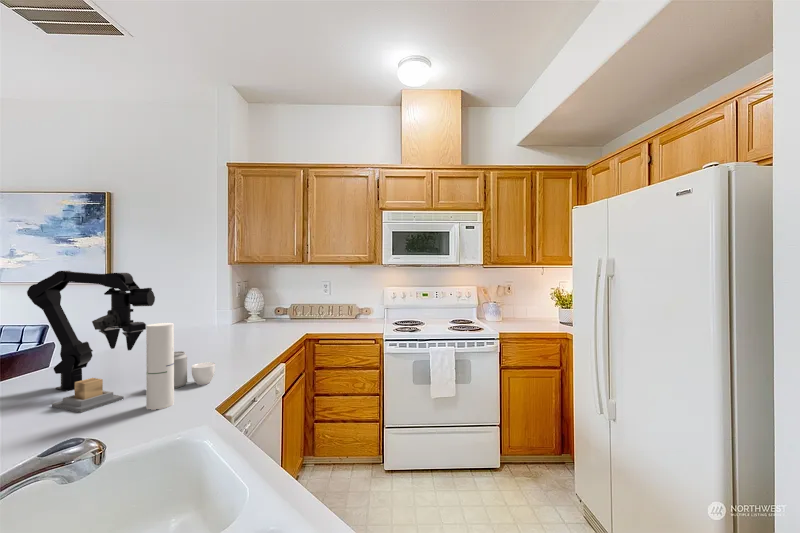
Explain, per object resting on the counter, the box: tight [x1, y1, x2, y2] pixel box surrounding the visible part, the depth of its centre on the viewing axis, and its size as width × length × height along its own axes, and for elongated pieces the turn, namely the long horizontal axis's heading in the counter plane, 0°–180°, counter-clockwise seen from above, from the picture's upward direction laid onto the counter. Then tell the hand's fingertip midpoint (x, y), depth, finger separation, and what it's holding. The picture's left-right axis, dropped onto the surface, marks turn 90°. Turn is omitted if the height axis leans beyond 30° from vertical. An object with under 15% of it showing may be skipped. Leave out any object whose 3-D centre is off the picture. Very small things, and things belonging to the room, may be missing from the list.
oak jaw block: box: [74, 377, 104, 400], centre depth 118 cm, size 5×5×6 cm
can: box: [174, 350, 188, 389], centre depth 135 cm, size 8×8×12 cm
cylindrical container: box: [145, 322, 175, 411], centre depth 115 cm, size 7×7×25 cm
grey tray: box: [51, 390, 124, 414], centre depth 118 cm, size 14×12×2 cm
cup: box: [191, 361, 216, 386], centre depth 138 cm, size 8×10×7 cm
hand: (121, 349), depth 136 cm, fingers open, 9 cm apart
